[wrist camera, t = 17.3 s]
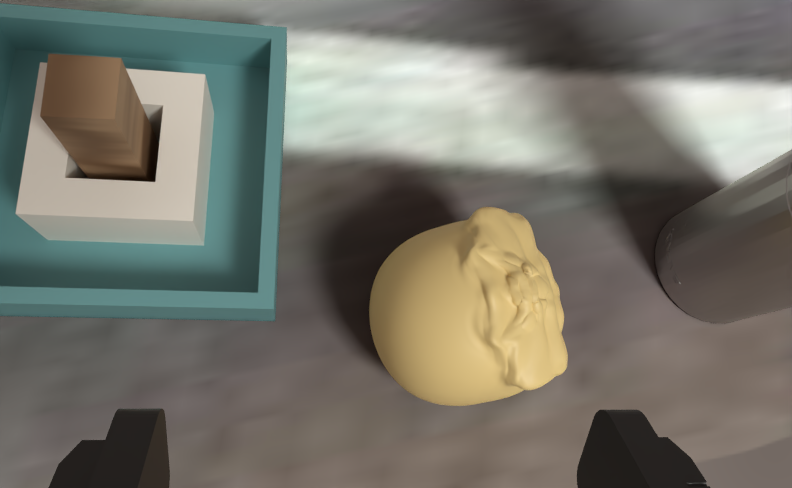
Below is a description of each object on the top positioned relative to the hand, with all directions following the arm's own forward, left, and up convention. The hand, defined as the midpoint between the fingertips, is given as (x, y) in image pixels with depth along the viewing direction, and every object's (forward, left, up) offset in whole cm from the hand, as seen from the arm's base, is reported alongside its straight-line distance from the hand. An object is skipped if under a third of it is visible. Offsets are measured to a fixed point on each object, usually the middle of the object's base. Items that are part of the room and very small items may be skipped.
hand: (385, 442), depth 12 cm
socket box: (+13, -18, -33) cm, 39 cm away
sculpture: (-9, -8, -33) cm, 35 cm away
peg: (+13, -18, -32) cm, 39 cm away
